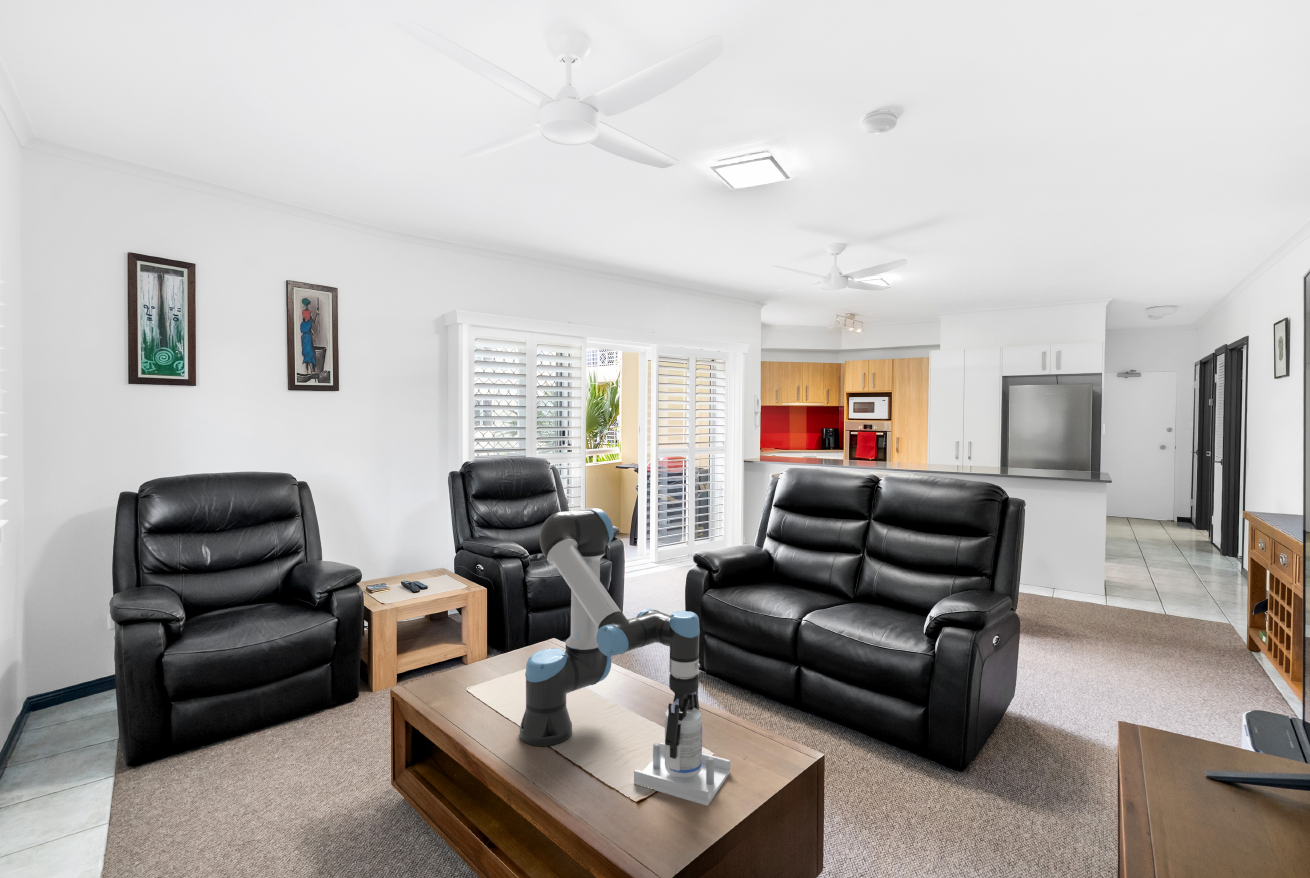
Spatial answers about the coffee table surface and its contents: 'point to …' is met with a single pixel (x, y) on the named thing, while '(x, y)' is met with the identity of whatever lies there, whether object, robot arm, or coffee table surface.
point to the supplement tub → (687, 745)
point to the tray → (690, 788)
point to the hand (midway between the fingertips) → (682, 759)
